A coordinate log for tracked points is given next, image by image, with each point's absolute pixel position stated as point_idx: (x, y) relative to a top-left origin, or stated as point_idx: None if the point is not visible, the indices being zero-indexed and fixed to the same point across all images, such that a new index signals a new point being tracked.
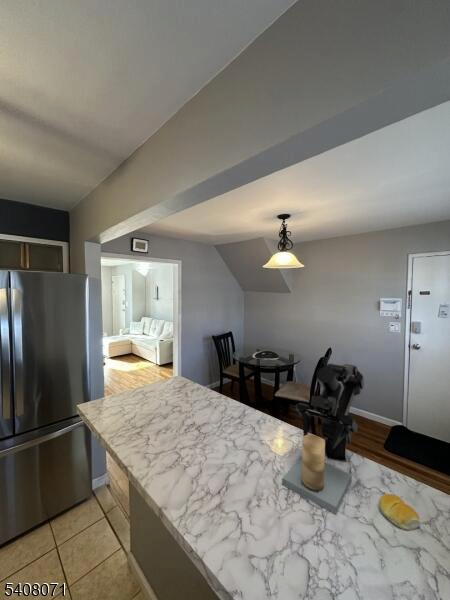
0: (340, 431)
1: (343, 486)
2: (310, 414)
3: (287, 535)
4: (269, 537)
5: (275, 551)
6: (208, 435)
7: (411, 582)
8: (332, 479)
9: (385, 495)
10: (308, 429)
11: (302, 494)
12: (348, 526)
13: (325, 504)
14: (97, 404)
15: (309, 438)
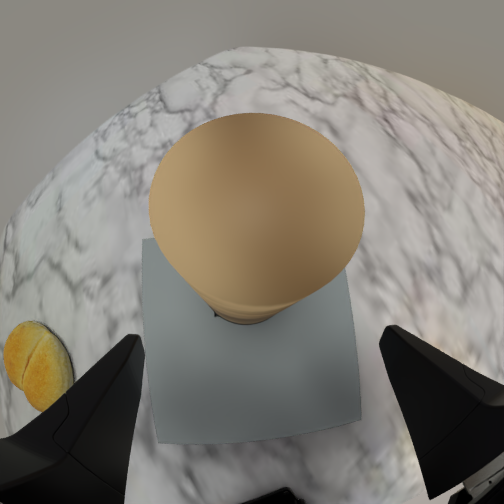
0: (23, 435)
1: (152, 357)
2: (486, 491)
3: None
4: (246, 100)
5: (223, 92)
6: None
7: (29, 208)
8: (198, 366)
9: (46, 384)
10: (409, 412)
11: None
12: (115, 235)
13: None
14: None
15: (306, 192)
